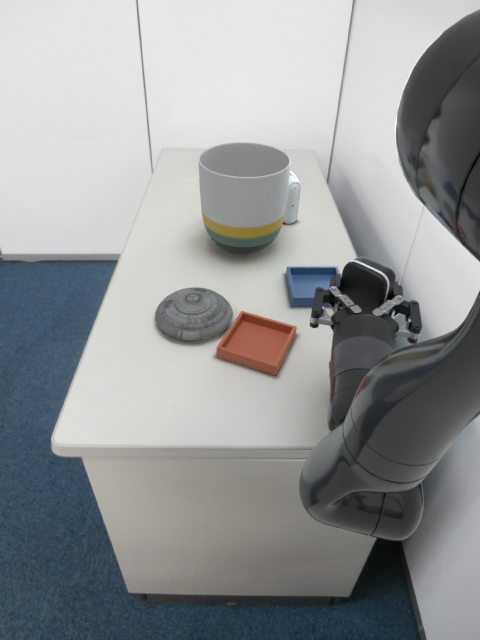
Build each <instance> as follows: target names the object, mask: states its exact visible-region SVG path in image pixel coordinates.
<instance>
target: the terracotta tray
mask: <svg viewBox="0 0 480 640" xmlns="http://www.w3.org/2000/svg"><path fill="white" fill-rule="evenodd" d="M297 328H298V327H297V326H296V325H293V324H289V323H286V322H282V321H279V320H275V319H271V318H268V317H265V316H262V315H258V314H255V313H252V312H251V313H250V312H248V311H244V310H241V311H240V312H239V313H238V315H237V317H236V318H235V320H234V321H233V322H232V324H231V325H230V327H229V329H228V330H227V332H226V333H225V334H224V336H223V337H222V339H221V341H220V342H219V343H218V345H217V346H216V358H219V359H223V360H226V361H229V362H231V363H235V364H238V365H241V366H244V367H247V368H251V369H254V370H257V371H258V372H259V371H260V372H262V373H266V374H269V375H272V376H275V377H276V376H277V374H278V372H279V370H280V369H281V366H282V365H283V362H284V360H285V358H286V356H287V354H288V352H289V350H290V348H291V346H292V345H293V342H294V339H295V338H296V335H297Z"/></svg>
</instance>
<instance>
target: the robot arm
mask: <svg viewBox="0 0 480 640" xmlns="http://www.w3.org/2000/svg"><path fill="white" fill-rule="evenodd" d="M396 110H397V111H396V118H395V127H394V129H395V130H394V135H395V136H394V139H395V148H396V149H395V150H396V155H397V161H398V164H399V166H400V169H401V172H402V175H403V177H404V179H405V181H406V182H407V184H408V186H409V188H410V190H411V192H412V193H413V195H414V197H416V198H417V200H418V201H419V202H420V203H421V204H422V205H423V206H424V207H425V208H426V209H427V211H428V212H429V213H430V214H431V215H432V216H433V217H434V218H435V219H436V220H437V221H438V222H439V223H440V224H441V225H442V226H443V227H444V228H445V229H446V230H447V231H448V233H450V234H451V235H452V236H453V238H454V239H456V240H457V242H458V243H459V244H460V245H461V246H462V247H463V248H465V250H467V251H468V253H469V254H470V255H471V256H472V257H473V258H475V260H476V261H478V263H480V8H479V9H477V10H475V11H473V12H471V13H469V14H466V15H464V16H463V17H462V18H460V19H459V20H458V21H456V22H454V23H453V24H452V25H450V26H449V27H448V28H446V29H445V30H444V31H442V32H441V33H440V34H439V36H437V37H436V38H435V39H434V40H433V41H432V42H431V43H430V44H429V45H428V46H427V47H426V49H425V50H424V51H423V52H422V54H421V55H420V56H419V58H418V59H417V61H416V62H415V64H414V65H413V67H412V68H411V71H410V73H409V75H408V78H407V80H406V82H405V84H404V87H403V89H402V91H401V95H400V100H399V103H398V107H397V109H396ZM341 276H342V273H340V274H339V273H336V276H332V277H331V279H330V285H329V289H327V290H324V288H322V287H317V288H316V290H315V295H314V300H313V306H312V307H311V313H310V320H309V327H310V328H311V329H318V328H319V326H320V325H323V326H329V327H330V329H331V330H332V340H331V341H332V342H331V350H330V360H329V363H328V370H329V371H328V379H329V391H328V402H327V403H328V404H327V413H326V422H327V423H326V424H327V427H328V430H329V433H328V434H327V435H326V436H324V437H323V438H321V440H320V441H319V442H318V443H317V444H316V445H315V446H314V447H313V448H312V450H311V451H310V452H309V455H308V456H307V457H306V459H305V460H304V464H303V465H302V468H301V471H300V476H299V481H298V482H299V483H298V493H299V498H300V501H301V504H302V507H303V508H304V511H306V513H307V514H308V515H309V516H310V517H311V518H312V519H313V520H315V521H316V522H317V523H320V524H322V525H325V526H329V527H333V528H336V529H342V530H345V531H349V532H351V533H357V534H361V535H364V536H369V537H372V538H375V539H380V540H384V541H388V542H403V541H405V540H406V539H409V538H410V537H411V536H412V535H413V534H415V532H416V531H417V529H418V527H419V526H420V523H421V521H422V519H423V514H424V506H425V499H424V488H423V481H424V480H425V479H426V478H427V477H428V476H429V475H430V473H431V472H432V471H433V469H434V468H435V467H436V465H437V464H438V463H439V462H440V460H441V459H443V456H444V455H445V454H446V453H447V452H448V450H450V448H451V447H452V445H453V444H454V443H455V441H456V440H457V439H458V438H459V436H460V435H462V433H463V432H465V430H467V428H468V427H469V426H470V425H472V423H473V422H474V421H476V419H477V418H478V417H479V416H480V289H479V290H478V293H477V295H476V297H475V299H474V302H473V304H472V306H471V308H470V309H469V311H468V313H467V315H466V317H465V318H464V319H463V321H462V322H461V324H459V325H458V326H457V327H456V328H455V329H453V330H451V331H449V332H447V333H444V334H441V335H439V336H436V337H433V338H430V339H426V340H423V341H420V342H418V341H419V338H420V335H421V332H422V330H423V323H422V322H423V321H422V315H421V308H420V302H418V301H417V300H415V299H414V300H412V299H411V300H410V301H408V300H406V299H405V297H404V289H403V286H402V285H400V284H399V282H398V280H395V285H394V289H393V293H392V297H391V300H388V301H386V302H385V303H384V304H382V305H381V306H380V307H378V305H374V304H363V303H360V302H353V301H352V300H351V299H350V298H349V297H348V296H347V295H346V294H342V293H341V291H340V282H341ZM322 303H327V304H328V305H329V306H328V307H329V308H330V309H331V310H332V312H333V313H332V315H330V314H328V311H327V310H326V306H322ZM400 314H401V315H404V320H405V321H404V322H403V324H402V325H400V324H399V323H398V322H397V321H396V320H395V319H396V318H397V317H398V316H400ZM397 337H400V338H406V341H407V342H408V343H410V345H406V346H404V347H401V348H398V349H397Z"/></svg>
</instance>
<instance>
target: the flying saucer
mask: <svg viewBox="0 0 480 640" xmlns="http://www.w3.org/2000/svg"><path fill="white" fill-rule="evenodd" d="M233 316H234V312H233V307H232V305H231V304H230V302H229V300H227V299H226V298H225V297H224V296H222V294H220V293H218V292H216V291H215V290H212V289H209V288H205V287H198V286H195V287H193V286H192V287H186V288H181V289H178V290H176V291H173V292H172V293H170V294H169V295H167V296H166V297H165V298H163V299H162V300H161V302H160V303H159V304H158V306H157V308H156V310H155V313H154V320H155V323H156V326H157V327H158V328H159V330H161V331H162V332H163V333H165V335H168V336H170V337H173V338H175V339H178V340H184V341H200V340H206V339H209V338H212V337H214V336H217V335H218V334H220V333H222V332H223V331H224V330H226V328H228V326H229V325H230V324H231V322H232V320H233V318H234V317H233Z"/></svg>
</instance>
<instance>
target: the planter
mask: <svg viewBox="0 0 480 640" xmlns="http://www.w3.org/2000/svg"><path fill="white" fill-rule="evenodd" d="M197 160H198V180H199V197H200V208H201V216H202V217H201V218H202V221H203V226H204V228H205V230H206V233H207V235H208V237H210V239H211V241H213V242H214V243H215V244H216V245H217V246H218V247H220V248H221V249H222V250H225V251H228V252H230V253H233V254H238V255H240V254H241V255H246V254H247V255H248V254H253V253H256V252H257V253H258V252H260V251H261V250H264V249H265V248H267V247H268V246H269V245H270V244H272V243H273V242H274V241H275V239H277V237H278V235H279V233H280V231H281V229H282V227H283V223H284V222H283V220H284V215H285V209H286V202H287V194H288V185H289V175H290V171H291V166H292V165H291V164H292V161H291V158H290V156H289V154H287V153H286V152H285V151H284V150H282V149H280V148H278V147H274V146H272V145H269V144H263V143H257V142H249V141H247V142H246V141H244V142H242V141H241V142H240V141H239V142H226V143H220V144H217V145H216V144H215V145H213V146H210V147H208V148H206V149H205V150H203V151H202V152H201V153H200V154H199V156H198V159H197Z"/></svg>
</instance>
